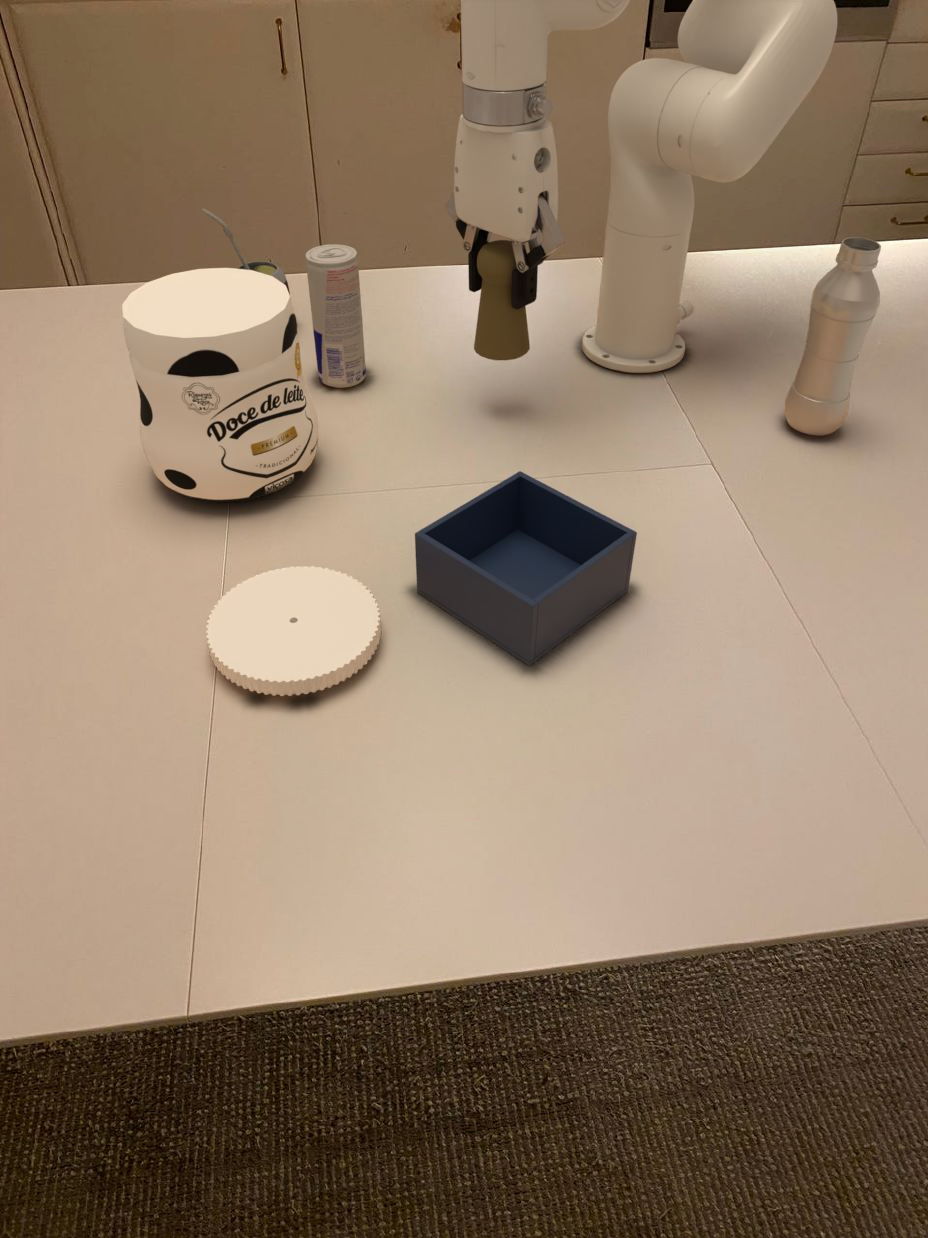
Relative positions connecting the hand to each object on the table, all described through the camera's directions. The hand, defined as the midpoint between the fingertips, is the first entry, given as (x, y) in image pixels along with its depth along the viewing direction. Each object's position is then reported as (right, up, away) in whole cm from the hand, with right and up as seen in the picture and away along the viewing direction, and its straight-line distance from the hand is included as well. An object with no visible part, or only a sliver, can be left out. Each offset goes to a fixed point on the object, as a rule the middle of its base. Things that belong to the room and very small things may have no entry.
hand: (502, 294), depth 98 cm
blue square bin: (+1, -31, -14) cm, 34 cm away
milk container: (-27, -18, 0) cm, 33 cm away
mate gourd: (-30, +3, +24) cm, 38 cm away
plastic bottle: (+34, -13, +7) cm, 37 cm away
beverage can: (-18, -5, +14) cm, 24 cm away
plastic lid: (-18, -36, -19) cm, 44 cm away
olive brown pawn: (0, -4, +4) cm, 6 cm away
